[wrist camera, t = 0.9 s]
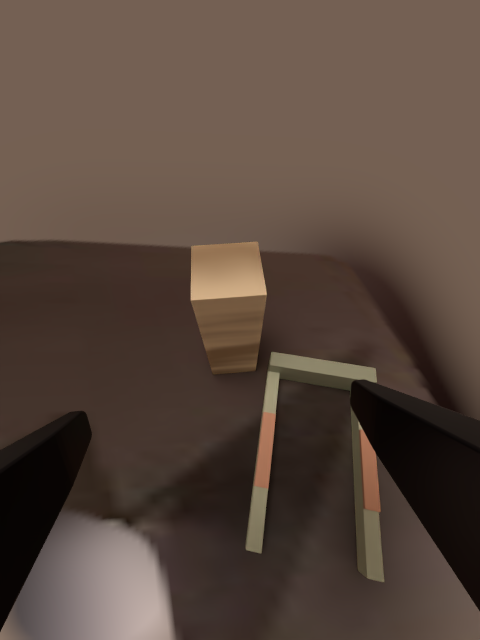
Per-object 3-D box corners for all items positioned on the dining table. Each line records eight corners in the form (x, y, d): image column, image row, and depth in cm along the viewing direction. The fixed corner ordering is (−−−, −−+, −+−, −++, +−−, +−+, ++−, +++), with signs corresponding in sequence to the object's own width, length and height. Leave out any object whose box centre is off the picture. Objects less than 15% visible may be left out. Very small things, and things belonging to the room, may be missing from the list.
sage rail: (373, 573, 17) (397, 592, 14) (245, 544, 17) (246, 557, 15) (360, 379, 23) (375, 368, 21) (268, 364, 24) (271, 351, 21)
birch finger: (255, 371, 24) (266, 294, 13) (212, 374, 24) (190, 300, 13) (250, 330, 26) (257, 238, 16) (211, 334, 26) (191, 243, 15)
